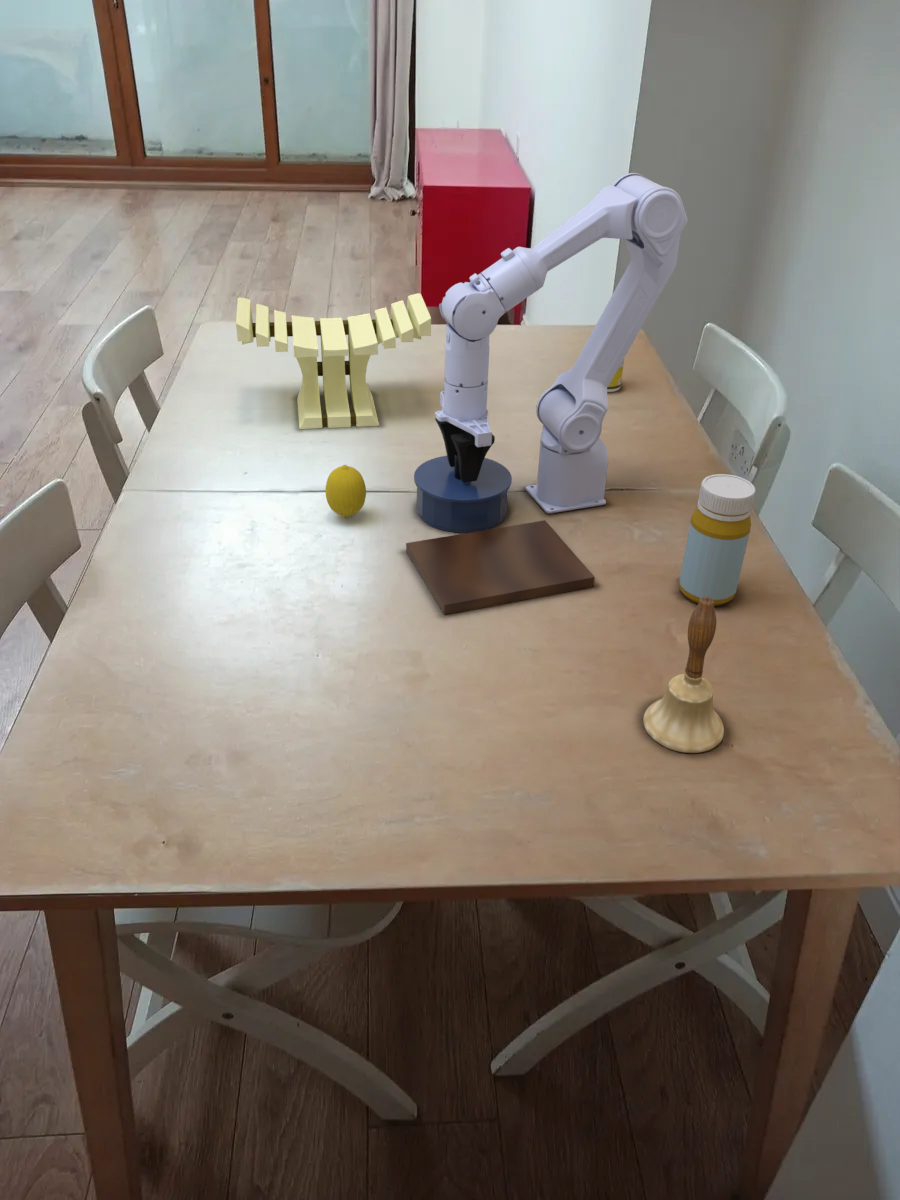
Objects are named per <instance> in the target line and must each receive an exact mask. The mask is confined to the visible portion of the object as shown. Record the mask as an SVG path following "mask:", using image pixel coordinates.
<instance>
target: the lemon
mask: <svg viewBox="0 0 900 1200" xmlns="http://www.w3.org/2000/svg"><path fill="white" fill-rule="evenodd" d="M366 497H367V486H366V483H365V480H364V477H363V475H362V473H361V472H360V471H359V470H357V469H356V468H355V467H352V466H349V465H347V464H343V465H342V466H338V467H336V468H335V469H332V471H331V472H330V473H329V474H328V477H327V479H326V483H325V498H326V499H325V500H326V502H327V504H328V507H329V508H330V510H331V511H333V512H334V513H335V514H337V515H339V516H342V517H344V518H346V519H347V518H348V519H349V518H350V517H351V516H353V515H356V514H357V513H358V512H359V511H361V510H362V508H363V507H364V505H365V503H366Z"/></svg>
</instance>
